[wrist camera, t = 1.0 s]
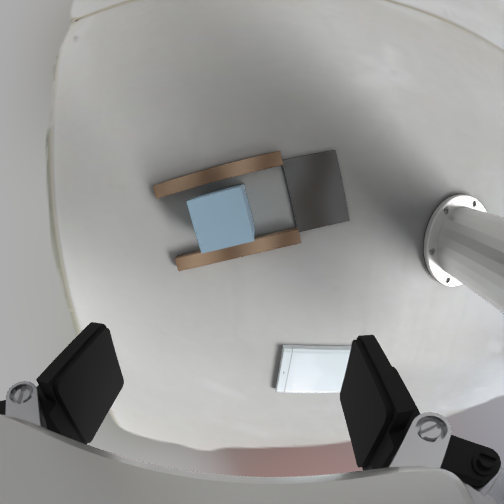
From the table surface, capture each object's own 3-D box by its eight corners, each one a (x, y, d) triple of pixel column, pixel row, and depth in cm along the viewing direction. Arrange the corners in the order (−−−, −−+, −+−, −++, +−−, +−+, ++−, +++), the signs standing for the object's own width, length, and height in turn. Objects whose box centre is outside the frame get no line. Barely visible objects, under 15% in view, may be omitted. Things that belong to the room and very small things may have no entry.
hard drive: (372, 349, 35) (283, 349, 35) (357, 392, 37) (275, 393, 37) (369, 343, 36) (282, 342, 36) (354, 385, 39) (275, 386, 38)
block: (243, 183, 30) (240, 186, 24) (255, 227, 32) (254, 241, 26) (199, 195, 31) (186, 201, 25) (211, 238, 32) (201, 253, 26)
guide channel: (332, 141, 28) (335, 140, 27) (349, 228, 31) (353, 230, 30) (156, 185, 30) (152, 185, 29) (181, 267, 33) (178, 271, 32)
